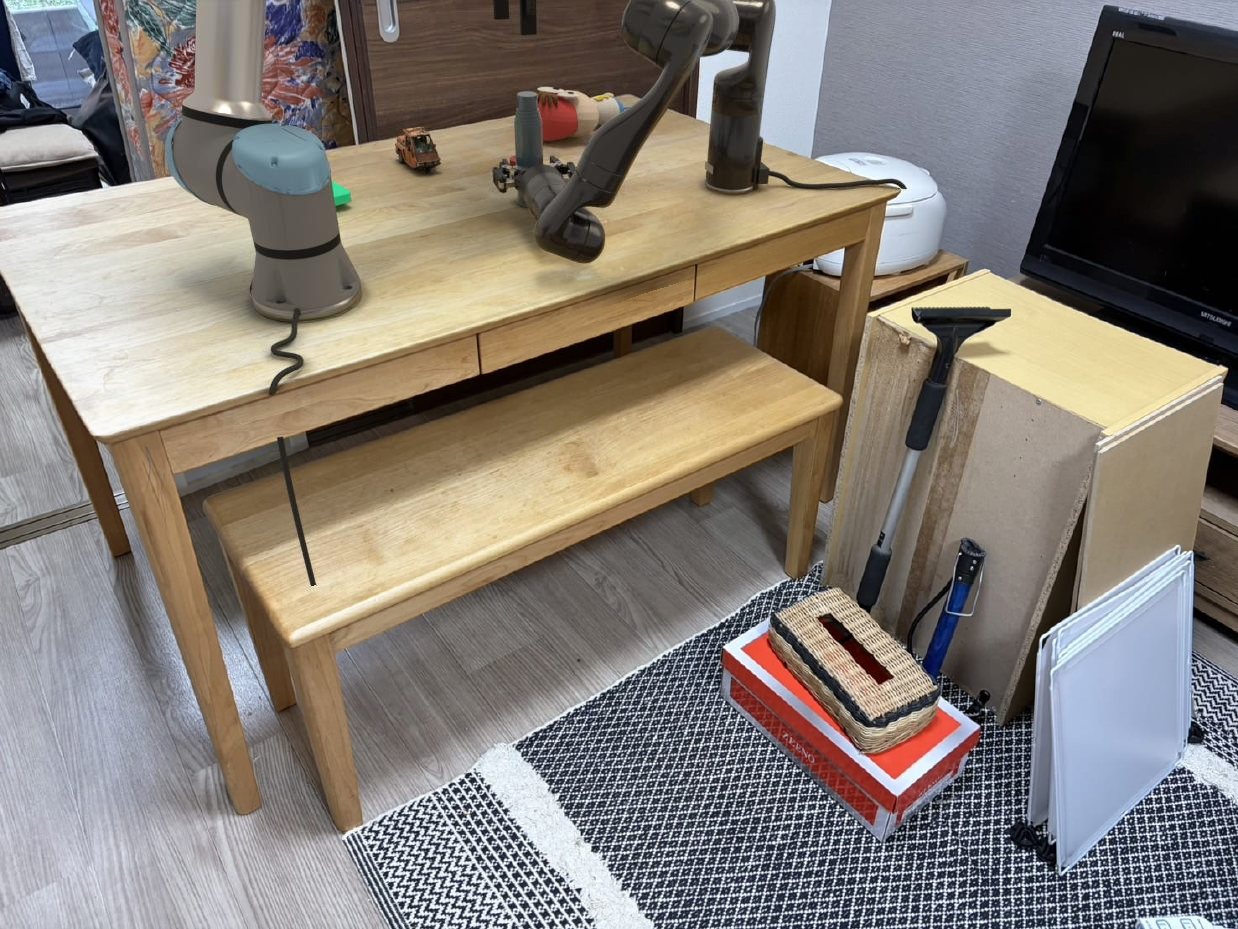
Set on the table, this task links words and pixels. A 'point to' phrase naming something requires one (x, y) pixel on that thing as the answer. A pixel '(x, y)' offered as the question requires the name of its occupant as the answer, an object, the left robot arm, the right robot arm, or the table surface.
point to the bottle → (528, 134)
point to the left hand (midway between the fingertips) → (514, 26)
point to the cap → (513, 161)
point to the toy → (574, 112)
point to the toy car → (417, 149)
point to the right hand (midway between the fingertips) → (527, 162)
